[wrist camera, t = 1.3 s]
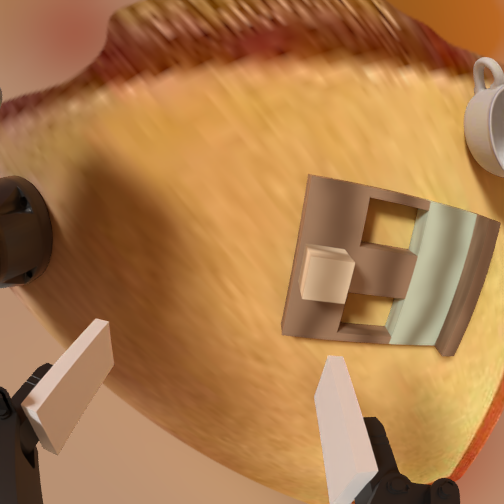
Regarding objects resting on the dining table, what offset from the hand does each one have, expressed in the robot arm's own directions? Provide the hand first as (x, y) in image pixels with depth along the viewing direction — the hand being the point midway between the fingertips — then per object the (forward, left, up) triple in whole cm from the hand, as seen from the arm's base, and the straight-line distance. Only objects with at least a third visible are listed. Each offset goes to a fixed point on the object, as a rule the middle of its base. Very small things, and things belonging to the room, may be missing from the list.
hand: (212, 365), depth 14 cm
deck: (+17, 0, -20) cm, 26 cm away
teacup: (+26, +20, -20) cm, 38 cm away
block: (+8, 0, -17) cm, 19 cm away
